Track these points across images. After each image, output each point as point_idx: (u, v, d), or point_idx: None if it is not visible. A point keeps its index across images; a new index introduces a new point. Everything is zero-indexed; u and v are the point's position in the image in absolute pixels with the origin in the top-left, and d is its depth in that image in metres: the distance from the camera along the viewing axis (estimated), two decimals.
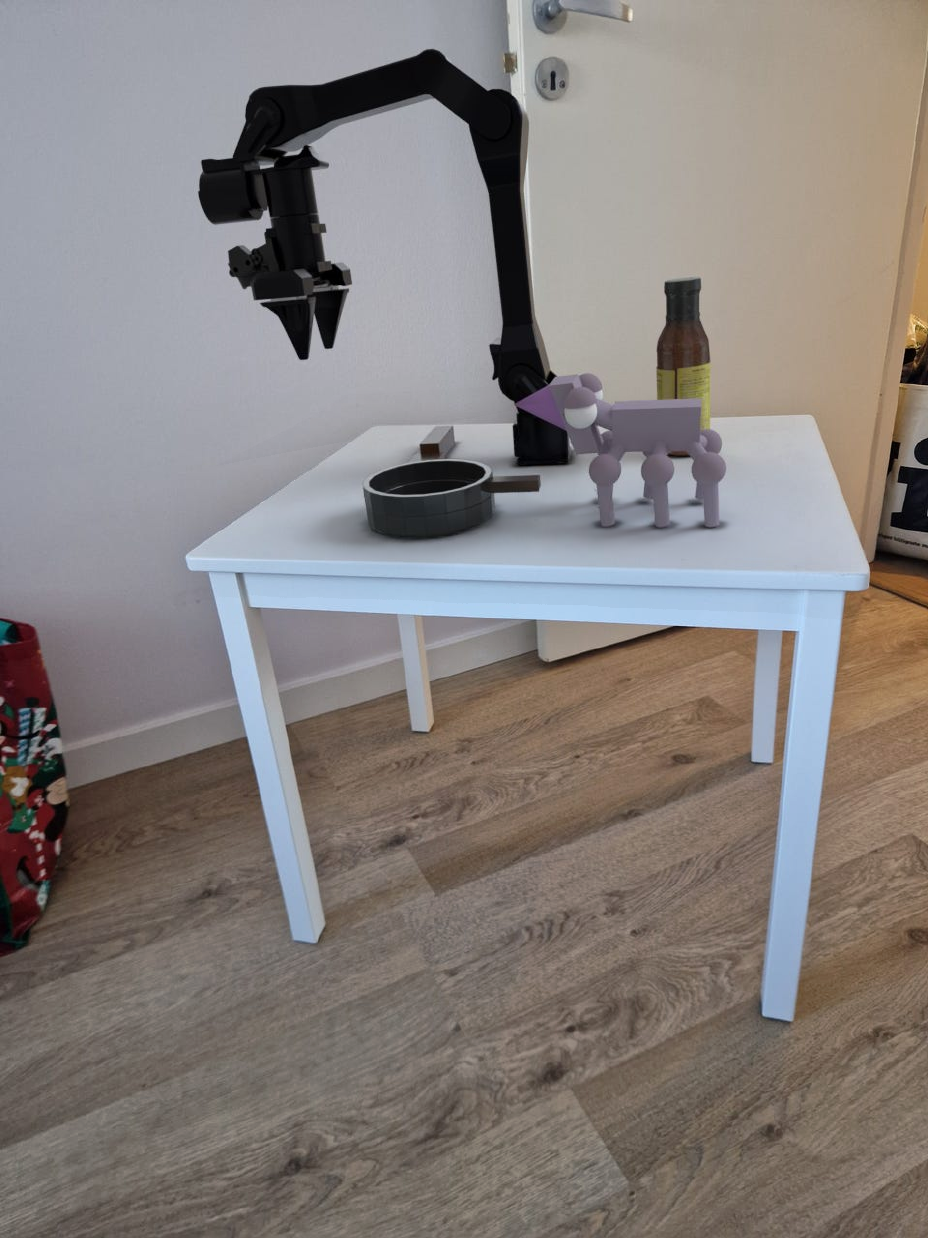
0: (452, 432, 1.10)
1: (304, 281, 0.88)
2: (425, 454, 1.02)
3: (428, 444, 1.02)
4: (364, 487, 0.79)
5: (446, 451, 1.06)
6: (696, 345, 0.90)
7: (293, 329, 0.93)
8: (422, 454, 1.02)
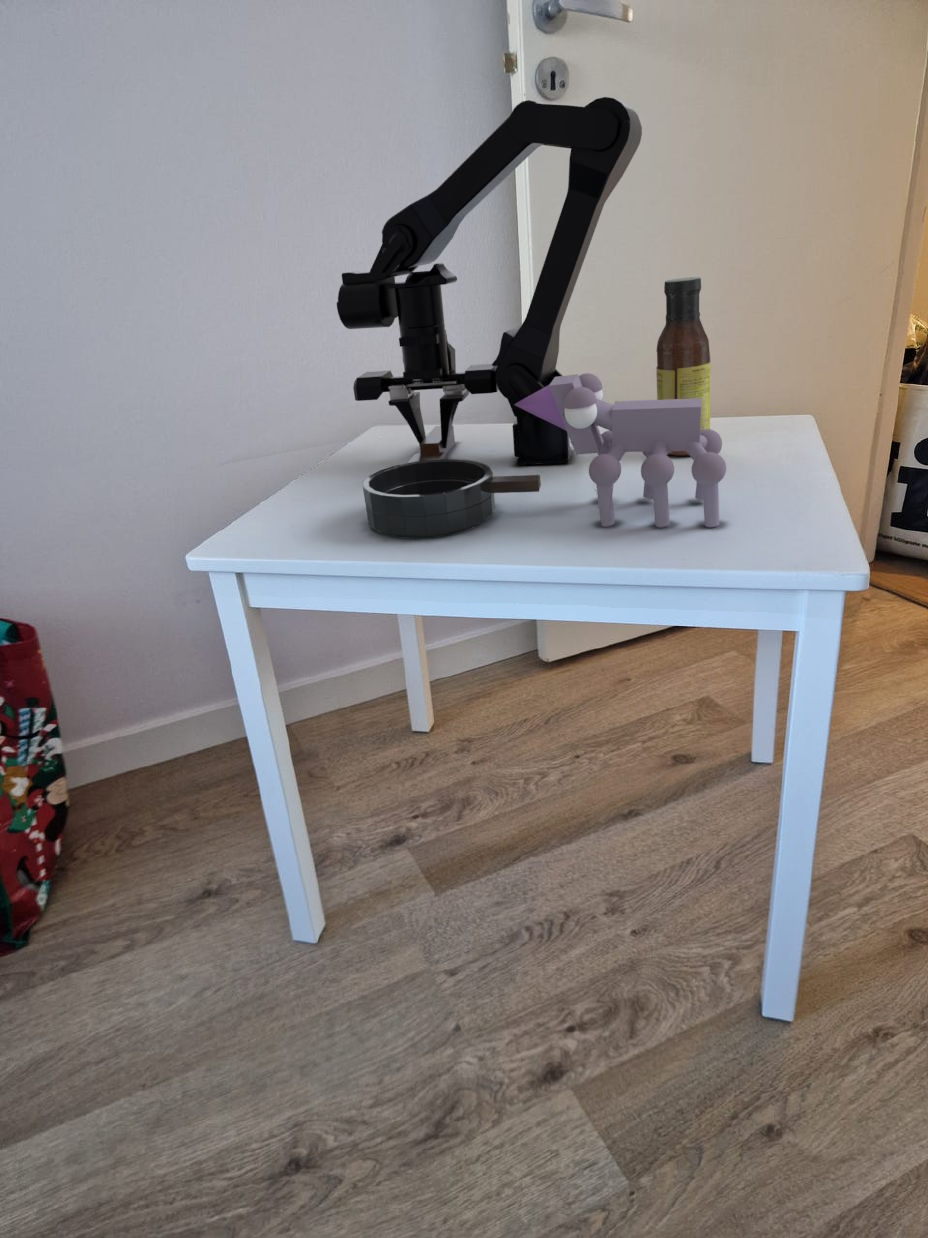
0: (452, 432, 1.10)
1: (362, 389, 1.00)
2: (425, 454, 1.02)
3: (428, 444, 1.02)
4: (364, 487, 0.79)
5: (446, 451, 1.06)
6: (697, 345, 0.90)
7: None
8: (422, 454, 1.02)
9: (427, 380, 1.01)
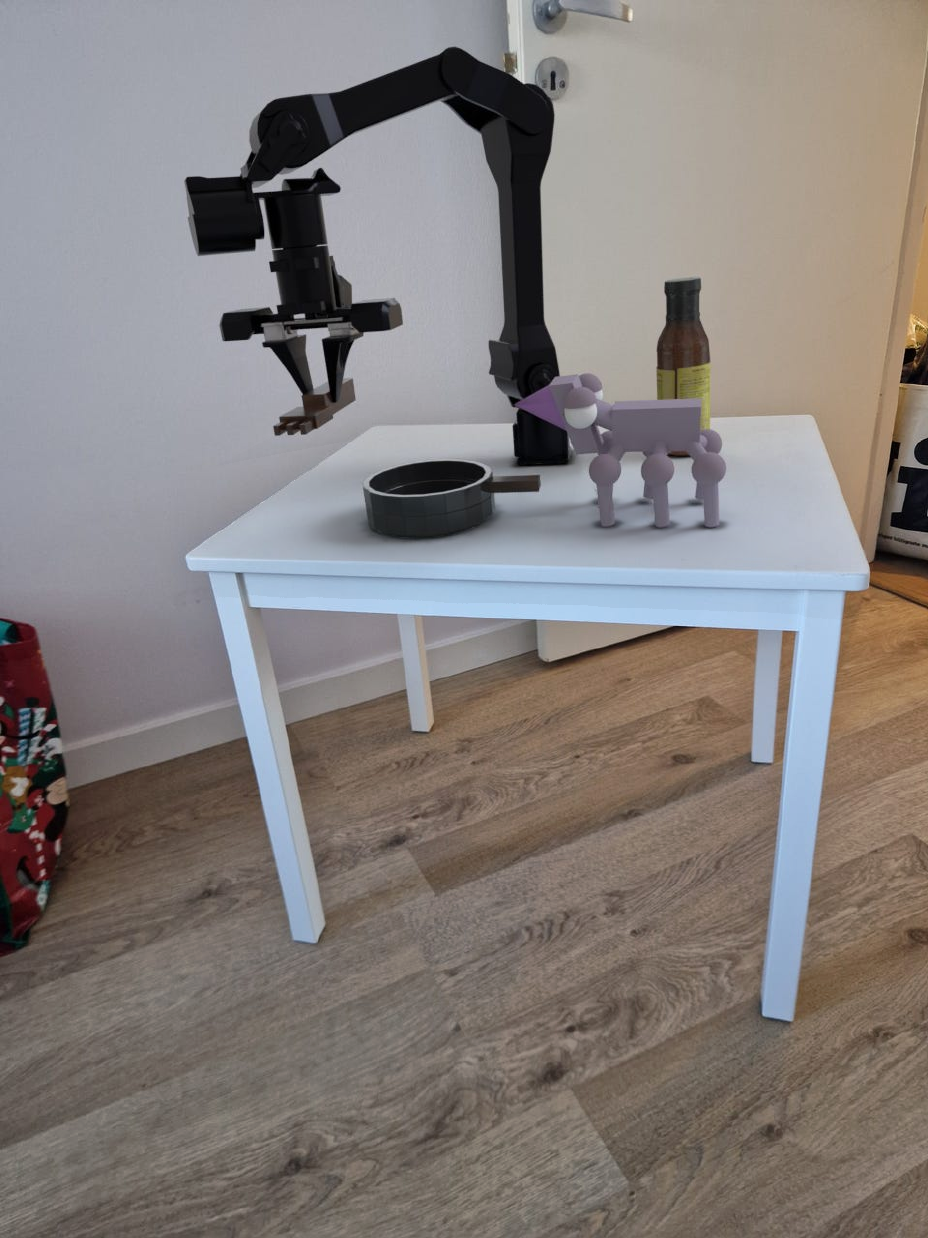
0: (351, 386, 0.92)
1: (229, 326, 0.82)
2: (307, 407, 0.84)
3: (312, 395, 0.84)
4: (364, 487, 0.79)
5: (339, 407, 0.88)
6: (697, 345, 0.90)
7: None
8: (304, 407, 0.84)
9: (309, 317, 0.83)
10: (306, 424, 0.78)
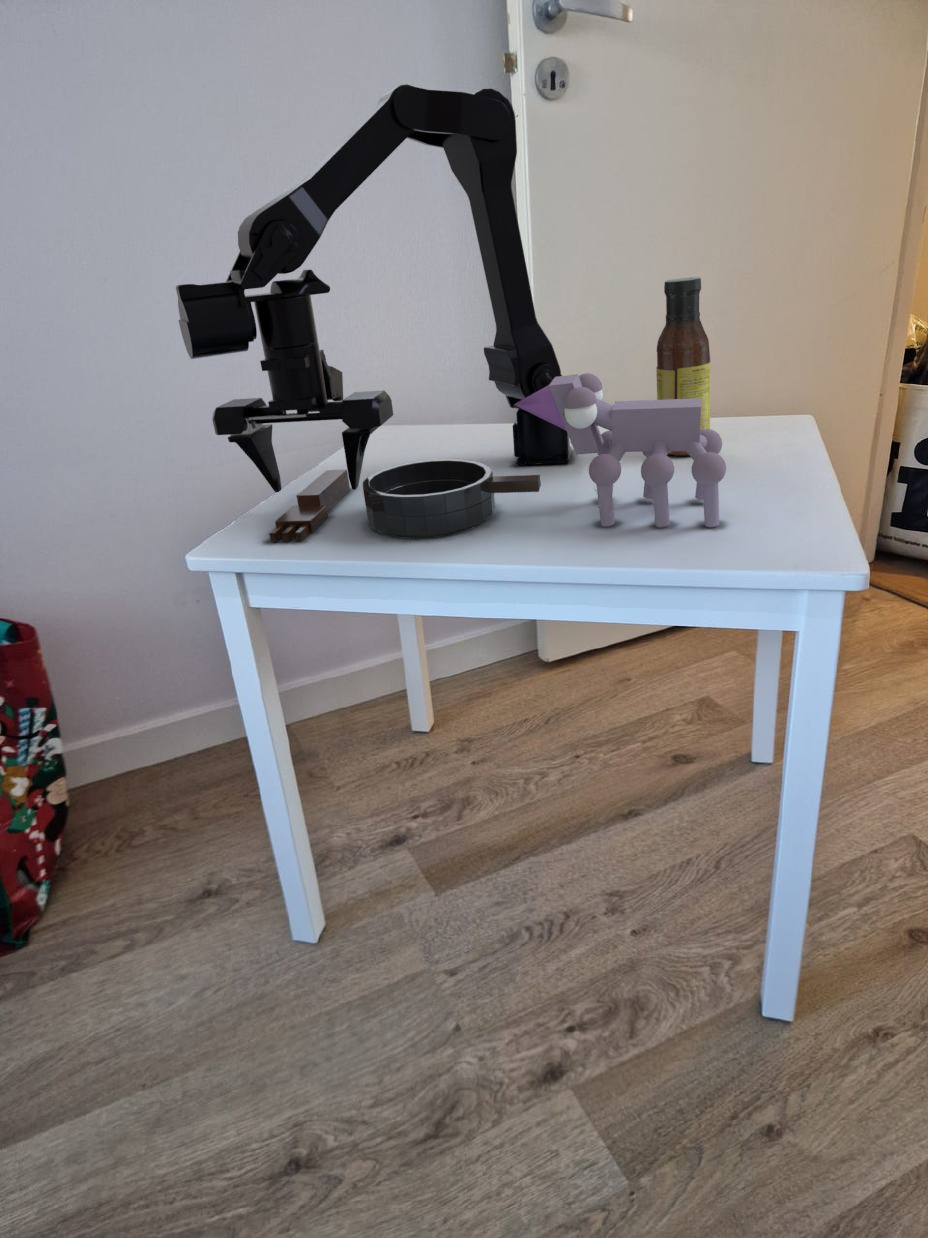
0: (345, 477, 0.94)
1: (222, 421, 0.83)
2: (302, 508, 0.85)
3: (306, 496, 0.86)
4: (364, 487, 0.79)
5: (333, 502, 0.90)
6: (697, 345, 0.90)
7: None
8: (299, 508, 0.85)
9: (329, 409, 0.83)
10: (301, 531, 0.80)
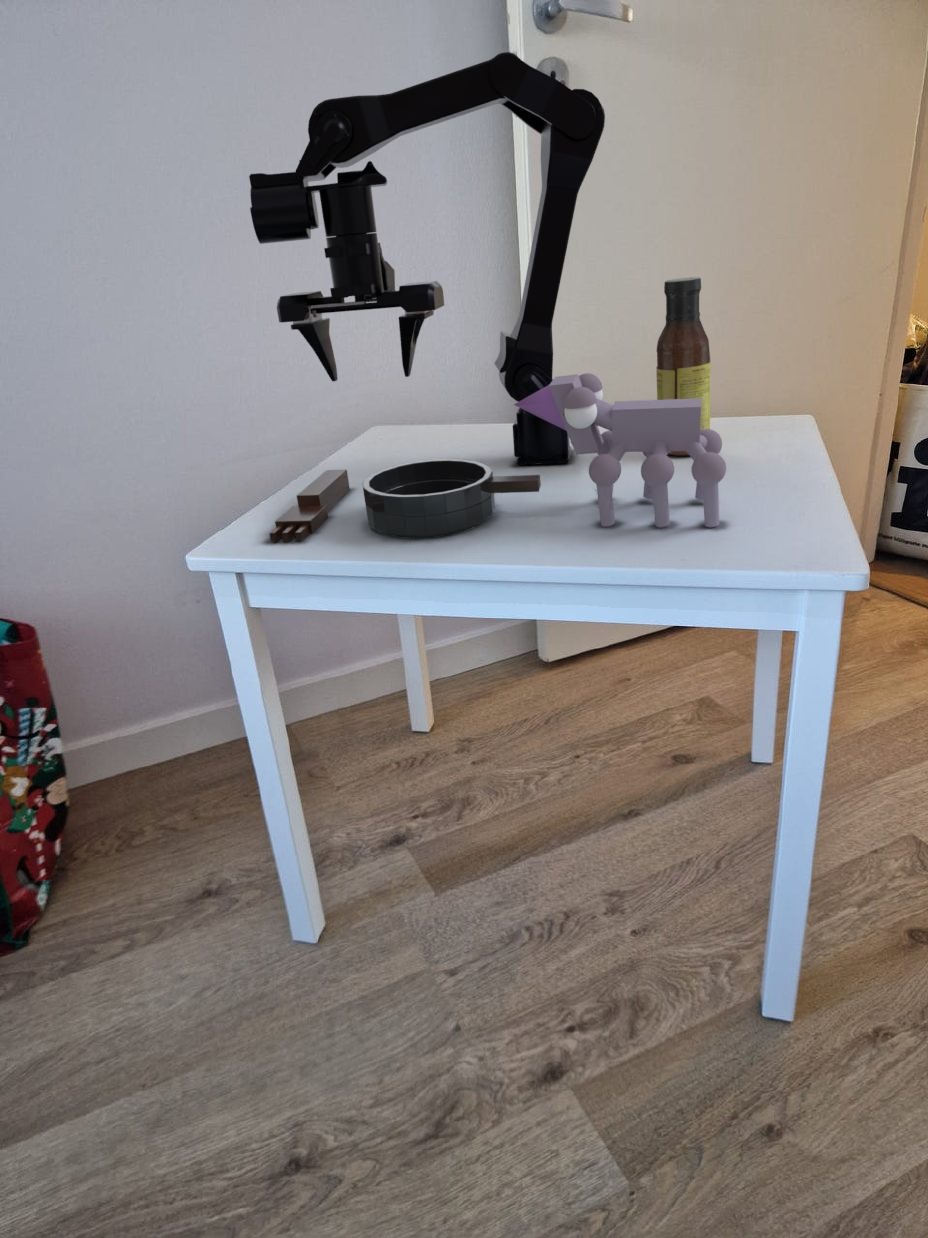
0: (345, 477, 0.94)
1: (286, 308, 0.90)
2: (302, 508, 0.85)
3: (306, 496, 0.86)
4: (364, 487, 0.79)
5: (333, 502, 0.90)
6: (696, 345, 0.90)
7: None
8: (299, 508, 0.85)
9: (385, 297, 0.89)
10: (301, 531, 0.80)
